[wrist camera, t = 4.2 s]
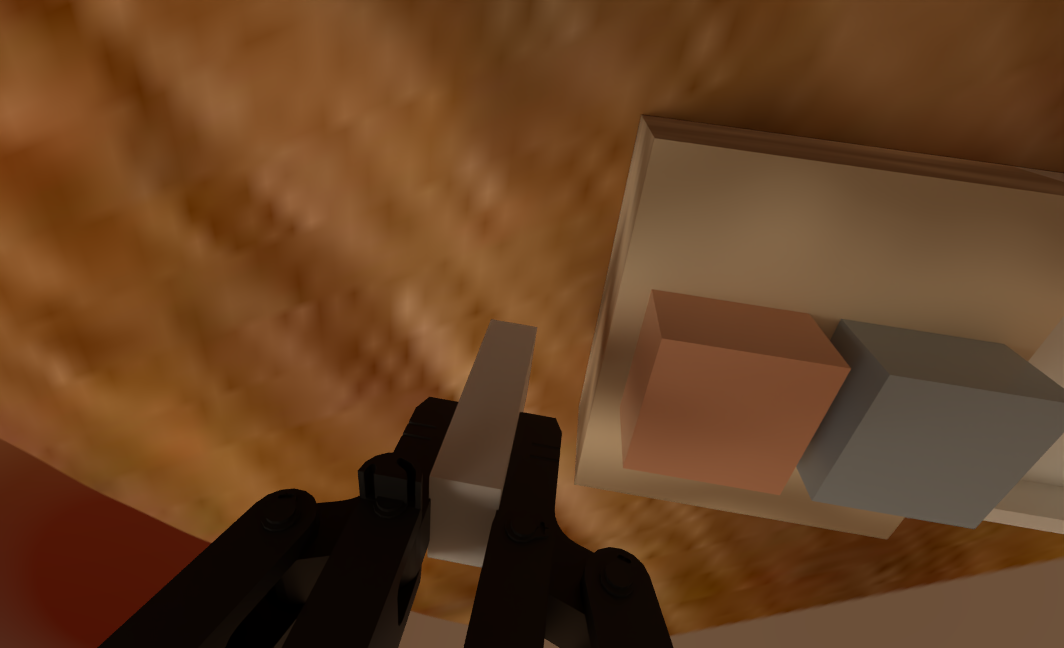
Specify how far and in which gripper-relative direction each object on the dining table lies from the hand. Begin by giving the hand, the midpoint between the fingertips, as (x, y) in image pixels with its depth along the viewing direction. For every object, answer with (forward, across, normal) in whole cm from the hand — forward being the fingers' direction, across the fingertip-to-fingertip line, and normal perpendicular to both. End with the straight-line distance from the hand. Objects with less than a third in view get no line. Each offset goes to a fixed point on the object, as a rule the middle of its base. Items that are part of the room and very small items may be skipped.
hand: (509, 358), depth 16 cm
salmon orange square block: (+1, +7, 0) cm, 7 cm away
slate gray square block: (+1, +13, 0) cm, 13 cm away
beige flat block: (+6, +10, 0) cm, 12 cm away
